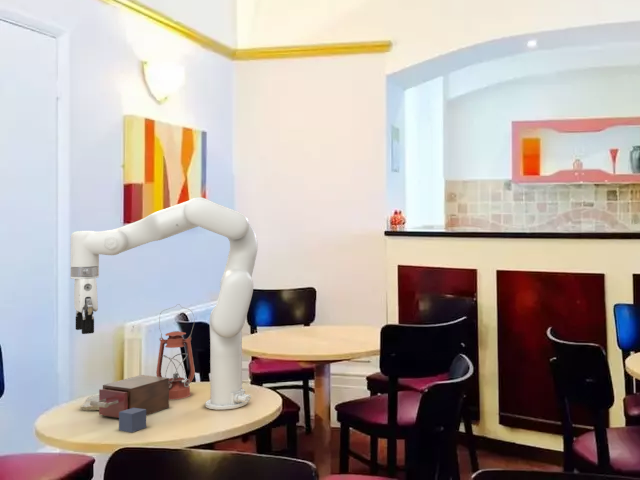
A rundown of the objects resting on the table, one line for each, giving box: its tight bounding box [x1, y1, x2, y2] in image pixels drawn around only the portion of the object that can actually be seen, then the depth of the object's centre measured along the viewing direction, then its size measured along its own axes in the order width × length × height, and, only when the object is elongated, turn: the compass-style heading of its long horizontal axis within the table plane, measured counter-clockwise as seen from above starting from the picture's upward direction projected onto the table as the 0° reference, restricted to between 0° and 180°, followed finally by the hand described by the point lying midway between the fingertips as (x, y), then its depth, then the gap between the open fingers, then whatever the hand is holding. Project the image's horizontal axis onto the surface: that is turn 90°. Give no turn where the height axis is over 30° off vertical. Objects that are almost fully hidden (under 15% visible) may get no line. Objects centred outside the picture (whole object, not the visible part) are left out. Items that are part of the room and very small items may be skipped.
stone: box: [80, 394, 99, 411], centre depth 213 cm, size 15×11×3 cm
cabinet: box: [102, 374, 170, 419], centre depth 207 cm, size 15×12×9 cm
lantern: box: [155, 303, 196, 401], centre depth 226 cm, size 10×10×30 cm
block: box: [118, 408, 147, 433], centre depth 189 cm, size 5×5×5 cm
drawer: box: [90, 388, 129, 419], centre depth 203 cm, size 18×10×7 cm, turn 154°
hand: (84, 331), depth 201 cm, fingers open, 9 cm apart
